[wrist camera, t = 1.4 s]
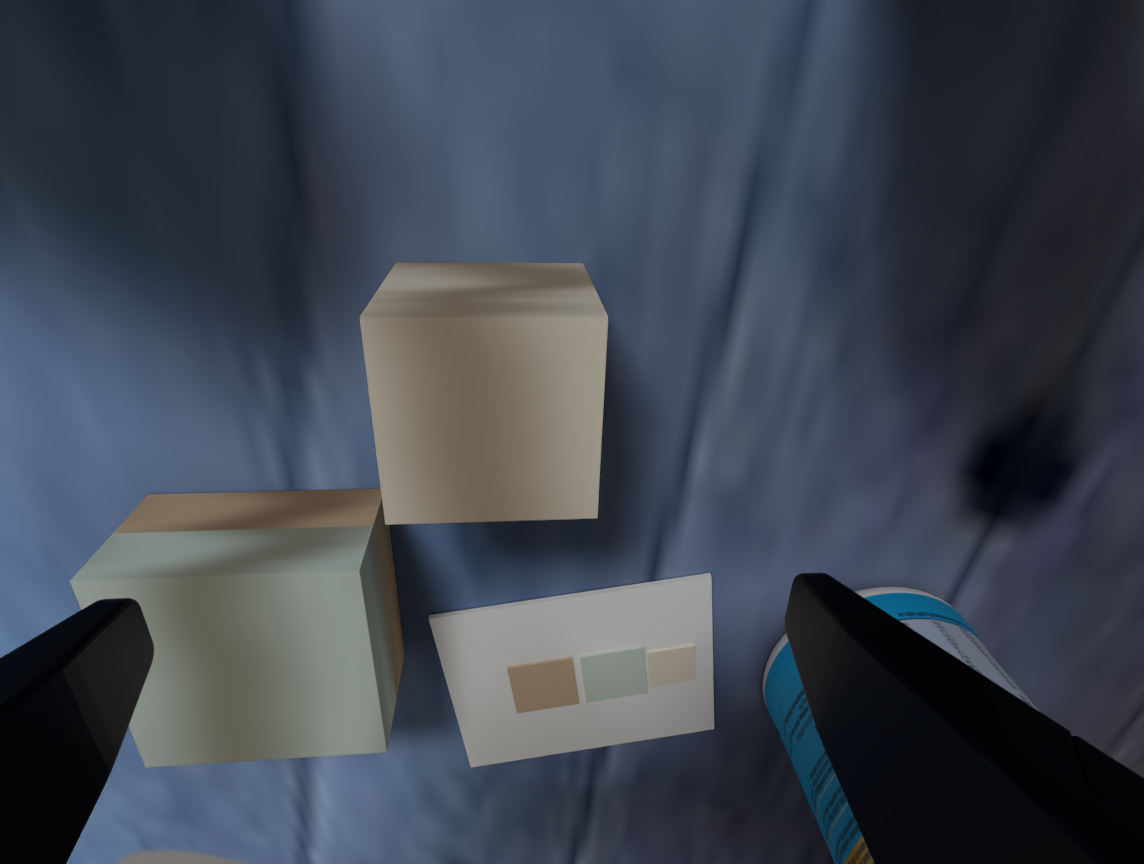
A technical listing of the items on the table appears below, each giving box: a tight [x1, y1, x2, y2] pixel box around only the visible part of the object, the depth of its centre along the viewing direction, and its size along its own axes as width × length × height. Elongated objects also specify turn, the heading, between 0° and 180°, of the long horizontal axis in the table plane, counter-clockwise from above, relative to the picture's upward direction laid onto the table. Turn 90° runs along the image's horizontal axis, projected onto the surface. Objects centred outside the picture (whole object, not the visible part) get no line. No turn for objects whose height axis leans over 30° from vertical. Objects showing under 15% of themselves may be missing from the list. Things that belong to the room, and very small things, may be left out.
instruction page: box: [429, 573, 714, 767], centre depth 25 cm, size 10×8×1 cm
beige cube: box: [360, 262, 608, 525], centre depth 17 cm, size 5×5×5 cm
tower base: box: [70, 489, 405, 767], centre depth 20 cm, size 7×7×4 cm
